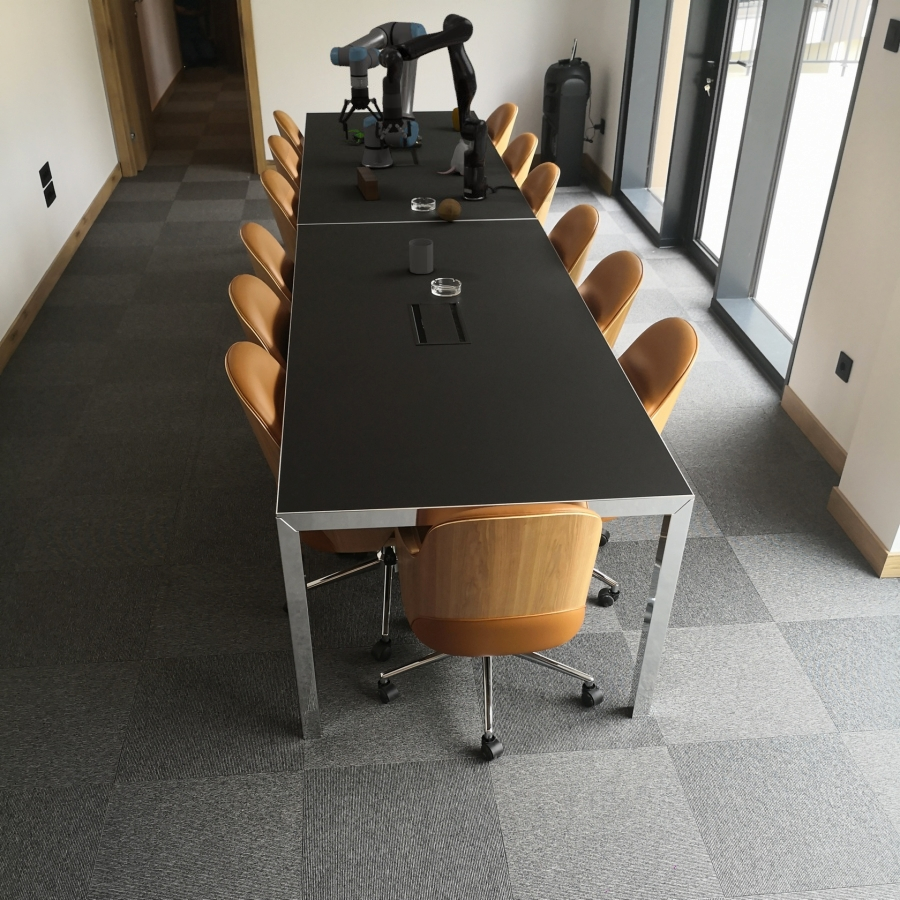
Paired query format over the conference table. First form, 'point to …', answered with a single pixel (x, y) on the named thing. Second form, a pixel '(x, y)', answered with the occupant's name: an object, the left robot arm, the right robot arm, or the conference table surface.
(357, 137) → the green dinosaur figurine
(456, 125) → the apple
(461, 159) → the toy
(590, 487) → the conference table surface
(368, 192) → the bar
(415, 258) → the cup
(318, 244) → the conference table surface
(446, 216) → the potato
